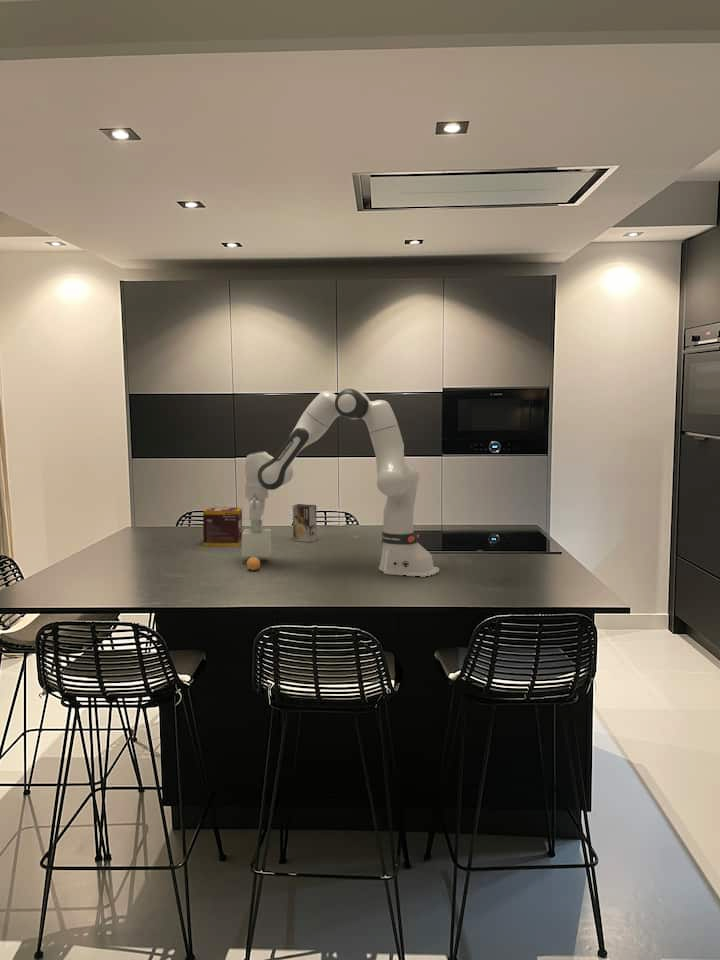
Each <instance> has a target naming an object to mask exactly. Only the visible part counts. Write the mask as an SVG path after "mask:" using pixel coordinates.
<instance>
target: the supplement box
mask: <svg viewBox="0 0 720 960" xmlns="http://www.w3.org/2000/svg"><path fill="white" fill-rule="evenodd" d="M202 514H203V515H202V518H203V519H202V522H203V523H202V524H203V525H202V529H203V531H202V532H203V533H202V534H203V543H202V544H203V547H239V546H241V545H242V533H243V507H228V506H227V507H226V506H225V507H222V506H221V507H219V506H218V507H215V506H214V507H211V506H210V507H207V508H206V509H204V510H203V513H202Z"/></svg>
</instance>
